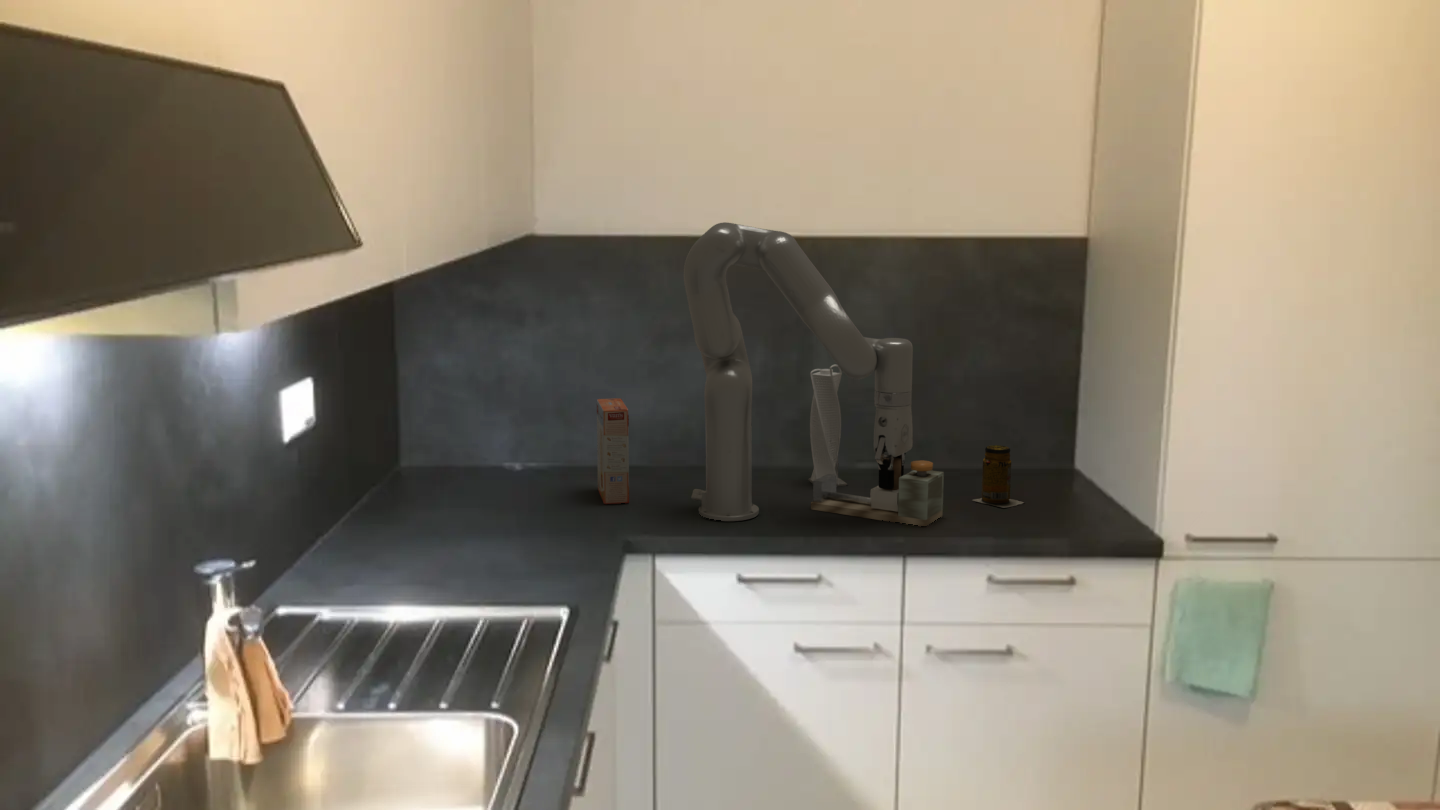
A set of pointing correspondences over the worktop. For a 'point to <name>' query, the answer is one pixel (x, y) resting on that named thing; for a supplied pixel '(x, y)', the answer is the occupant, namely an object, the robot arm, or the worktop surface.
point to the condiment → (997, 477)
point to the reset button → (922, 467)
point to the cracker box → (613, 450)
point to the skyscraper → (825, 423)
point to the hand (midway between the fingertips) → (891, 484)
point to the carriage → (887, 491)
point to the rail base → (914, 507)
